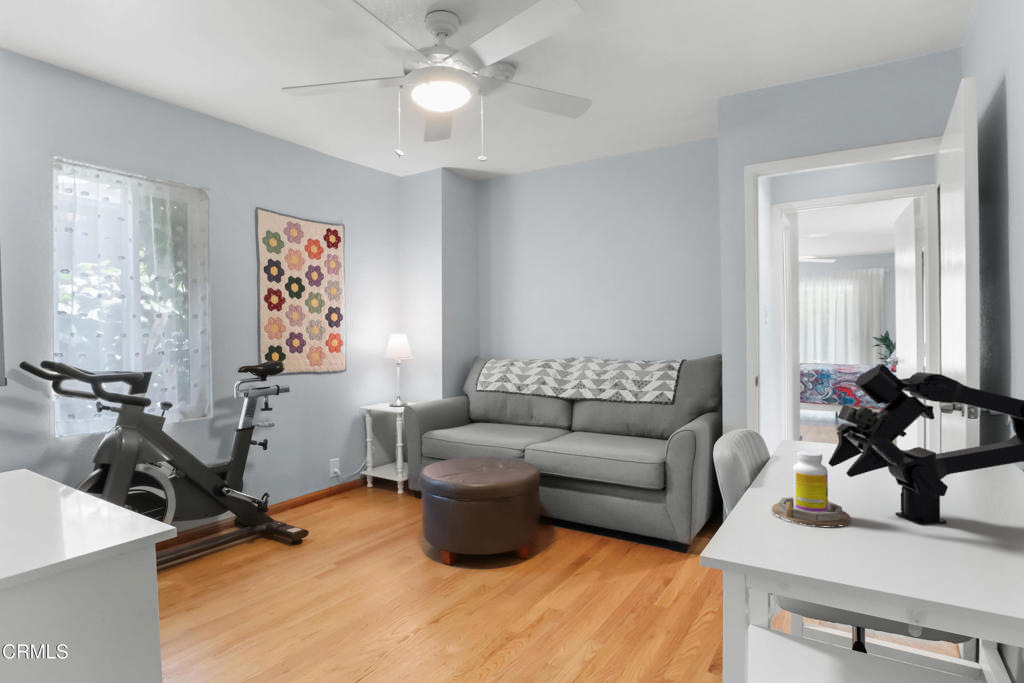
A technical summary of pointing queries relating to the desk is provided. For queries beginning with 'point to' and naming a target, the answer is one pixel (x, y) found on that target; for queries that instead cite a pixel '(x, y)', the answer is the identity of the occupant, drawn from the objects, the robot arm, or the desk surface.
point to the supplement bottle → (810, 483)
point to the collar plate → (809, 522)
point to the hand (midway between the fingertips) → (838, 469)
